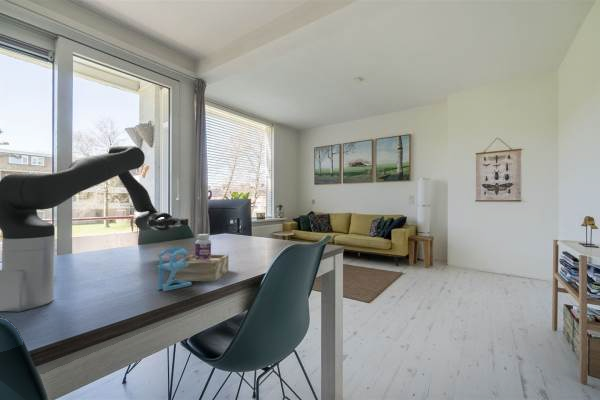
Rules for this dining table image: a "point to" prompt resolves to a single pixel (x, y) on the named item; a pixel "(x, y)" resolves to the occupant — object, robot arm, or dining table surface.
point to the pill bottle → (203, 248)
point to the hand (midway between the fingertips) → (175, 223)
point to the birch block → (203, 269)
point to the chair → (172, 269)
